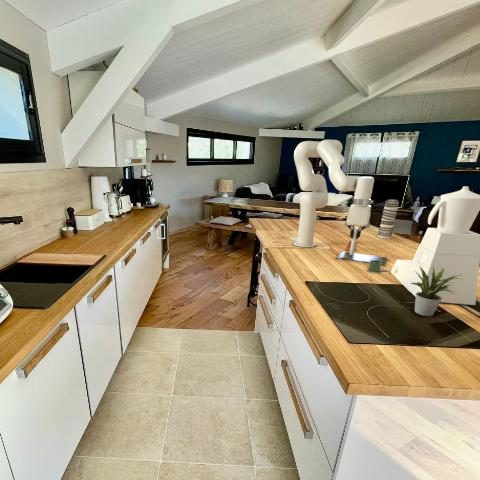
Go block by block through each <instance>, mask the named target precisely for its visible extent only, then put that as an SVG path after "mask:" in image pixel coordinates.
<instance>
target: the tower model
mask: <svg viewBox="0 0 480 480" xmlns="http://www.w3.org/2000/svg"><path fill="white" fill-rule="evenodd" d="M399 204H400V202H399V200H398V199H387V200H386V201H385V204H384V208H383V207H382V213H381V218H380V220H381V221H380V225H379V228H378V231H377V232H378V233H377V237H378V238H381V239H392V236H393V231H394V228H395V227H394V226H395V221H396V219H397V217H398V214H397V213H399Z"/></svg>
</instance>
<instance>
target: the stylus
mask: <svg viewBox="0 0 480 480" xmlns="http://www.w3.org/2000/svg"><path fill="white" fill-rule="evenodd" d="M358 230H359V226H358V227H357V226H354V233H353V238H351V241H352V243H351V248H350V251H349V252H350V253H349V254H350V255H353V254H354V253H355V251H354V249H355V244H356V242H357V239H356V236H357V232H358ZM356 245H357V244H356ZM355 250H356V249H355Z"/></svg>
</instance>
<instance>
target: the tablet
mask: <svg viewBox="0 0 480 480" xmlns="http://www.w3.org/2000/svg"><path fill="white" fill-rule="evenodd" d="M349 253H350V251H341V252H340V253H339V255H337V257H336V260H337V259H338V260H345V261H351V262H356V263H364V264H370V261H371V260H377V261H381V262H382V263H381V266H385V263H386V261H387V257H385V256H377V255H371V254H365V253H364V254H363V253H357V252H354V254H353V255H350V254H349Z"/></svg>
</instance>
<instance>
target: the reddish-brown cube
mask: <svg viewBox="0 0 480 480" xmlns="http://www.w3.org/2000/svg"><path fill="white" fill-rule="evenodd" d="M351 243H352V240H348V241H347V244H346V251H348V252H350V248H351ZM357 243H358V242H357V241H356V244H355V249H354V252H355V251H356V248H357Z"/></svg>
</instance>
